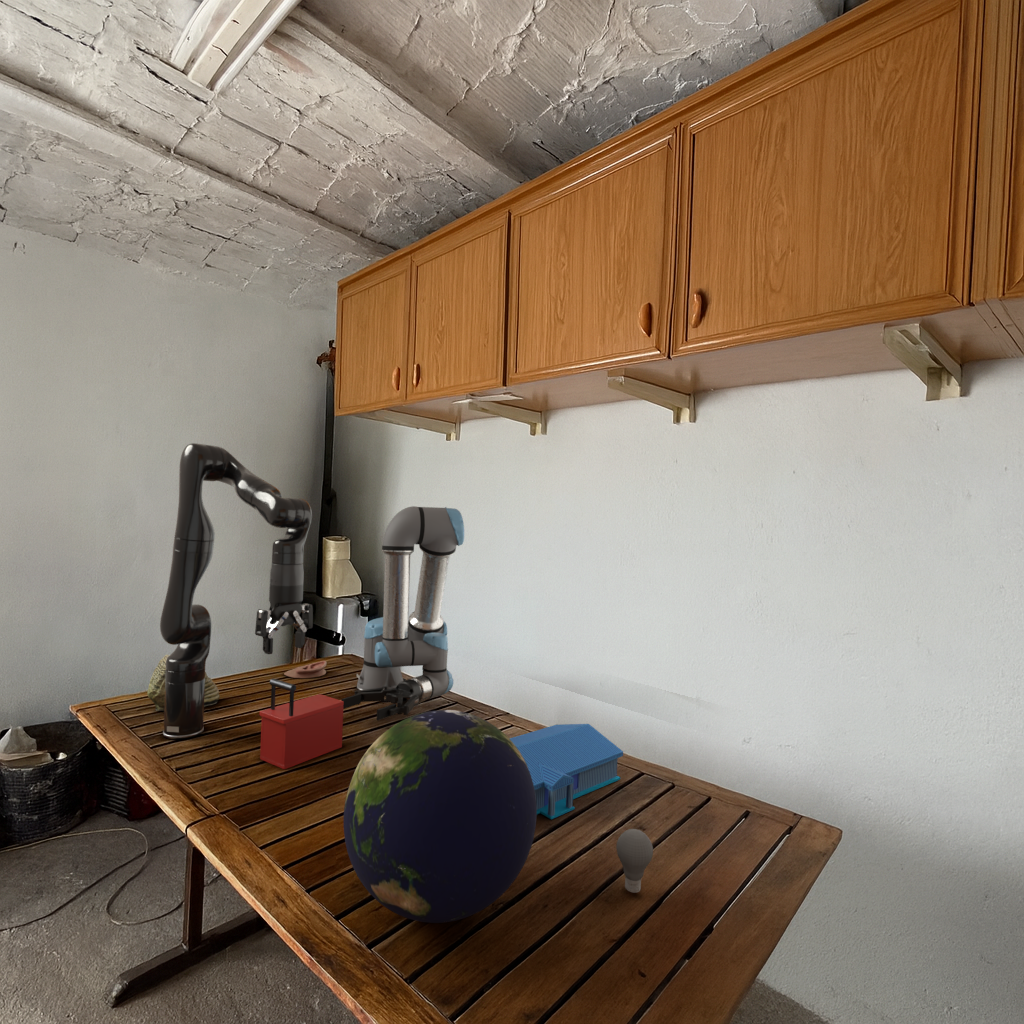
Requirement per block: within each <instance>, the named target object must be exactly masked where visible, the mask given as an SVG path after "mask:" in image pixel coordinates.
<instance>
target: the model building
mask: <svg viewBox="0 0 1024 1024" xmlns="http://www.w3.org/2000/svg"><path fill="white" fill-rule="evenodd" d="M509 739H510V740H511V741H512V742H513V744H514V745H515V746H516V747H517V749H518V750H519V751H520V753H521V755H522V756H523V758H524V760H525V762H526V764H527V766H528V769H529V772H530V774H531V778H532V781H533V785H534V790H535V795H536V806H537V815H539V814H540V815H543V816H544V817H546V818H548V819H549V820H553V819H556V818H558V817H560V816H563V815H565V814H567V813H570V812H573V811H574V810H576V809H575V808H576V807H575V806H574V804H573V803H574V800H575V799H577V798H580V797H582V796H585V795H587V794H589V793H592V792H594V791H596V790H599V789H601V788H604V787H605V786H608V785H610V784H612V783H615V782H618V781H620V780H621V777H620V776H618V759H619V758H621V757H624V751H623V750H622V749H620V748H619V746H617V744H615V743H613V742H612V741H611V740H609V738H607V737H606V736H605V735H603V733H601V732H600V731H598V730H597V729H596V728H595V727H593V726H592V725H591V724H590V723H563V724H562V723H561V724H554V725H550V726H546V727H544V728H540V729H537V730H534V731H529V732H527V733H524V734H520V735H517V736H513V737H510V738H509Z"/></svg>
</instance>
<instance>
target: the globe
mask: <svg viewBox="0 0 1024 1024" xmlns="http://www.w3.org/2000/svg"><path fill="white" fill-rule="evenodd" d="M537 817H538V814H537V806H536V795H535V790H534V785H533V781H532V778H531V774H530V772H529V769H528V766H527V764H526V762H525V760H524V758H523V756H522V755H521V753H520V751H519V750H518V749H517V747H516V746H515V745H514V744H513V742H512V741H511V740H510V738H509V737H508V735H507V734H505V732H503V731H502V730H501V729H500V728H498V727H497V726H495V725H494V724H492V723H491V722H489V721H488V720H485V719H483V718H482V717H479V716H477V715H475V714H472V713H468V712H464V711H460V710H455V709H438V710H430V711H425V712H422V713H421V712H420V713H418V714H414V715H412V716H409V717H407V718H405V719H403V720H401V721H399V722H397V723H395V724H394V725H393V726H391V727H390V728H388V729H387V730H386V731H385V732H383V733H382V734H381V735H380V736H378V738H377V739H376V740H375V741H374V742H373V743H372V744H371V745H370V746H369V747H368V749H367V750H366V751H365V753H364V754H363V756H362V757H361V758H360V760H359V762H358V764H357V765H356V768H355V770H354V773H353V775H352V777H351V778H350V782H349V784H348V789H347V791H346V797H345V800H344V809H343V835H344V843H345V847H346V851H347V855H348V858H349V861H350V863H351V866H352V868H353V870H354V873H355V874H356V876H357V878H358V880H359V881H360V882H361V884H362V885H363V887H364V888H365V889H366V890H367V892H368V893H369V894H370V895H371V896H372V897H373V899H375V901H377V903H379V904H381V905H382V906H383V907H384V908H386V909H387V910H389V911H391V912H392V913H394V914H396V915H398V916H400V917H403V918H406V919H408V920H411V921H416V922H419V923H427V924H428V923H429V924H444V923H451V922H456V921H459V920H463V919H467V918H469V917H471V916H473V915H476V914H478V913H480V912H482V911H483V910H485V909H487V908H488V907H489V906H490V905H492V904H494V903H495V902H496V901H497V900H498V899H499V898H501V896H503V895H504V893H506V891H508V889H510V887H511V886H512V885H513V883H514V882H515V881H516V879H517V878H518V876H519V875H520V873H521V871H522V869H523V867H524V866H525V864H526V862H527V860H528V857H529V854H530V852H531V849H532V845H533V843H534V838H535V832H536V827H537Z"/></svg>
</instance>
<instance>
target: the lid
mask: <svg viewBox="0 0 1024 1024" xmlns="http://www.w3.org/2000/svg"><path fill="white" fill-rule="evenodd" d="M269 685H270V686H271V687H270V688H271V689H270V690H271V691H270V708H266V709H263V710H260V711H259V716H260V717H262V716H263V717H265V718H268V719H271V720H273V721H276V722H279V723H282V724H286V723H289V722H292V721H296V720H299V719H302V718H305V717H308V716H311V715H314V714H318V713H321V712H324V711H327V710H330V709H333V708H336V707H339V706H343V705H344V701H341V699H337V698H334V697H330V696H328V695H324V694H322V693H318V694H314V695H311V696H308V697H304V698H301V699H297V700H295V692H296V690H297V685H296V684H293V683H290V682H286V681H283V680H280V679H277V678H271V679H270V680H269ZM277 688H278V689H282V690H285V691H288V692H289V701H288V702H287V703H283V704H280V705H277V706H276V689H277Z"/></svg>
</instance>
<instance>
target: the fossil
mask: <svg viewBox="0 0 1024 1024" xmlns="http://www.w3.org/2000/svg"><path fill="white" fill-rule="evenodd" d="M170 655H171V654H165V655H164V656H163V657H162V658H161V659H160V660H159V662H158V663H157V666H156V667H155V669H154V670H153V672H152V675H151V677H150V680H149V684H148V688H147V697H148V699H149V700H150V701H152V703H153V704H154V706H155V711H158V712H159V711H162V712H163V711H164V705H165V674H166V660H167V658H168V656H170ZM220 698H221V696H220V690H219V688H218V686H217V685H216V683H215V682H214V681H213V679H212V678H211V677H209V675H208V674H207V672H206V671H205V693H204V707H207V706H213V705H215V704H217V703H218V701H219V699H220Z"/></svg>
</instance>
